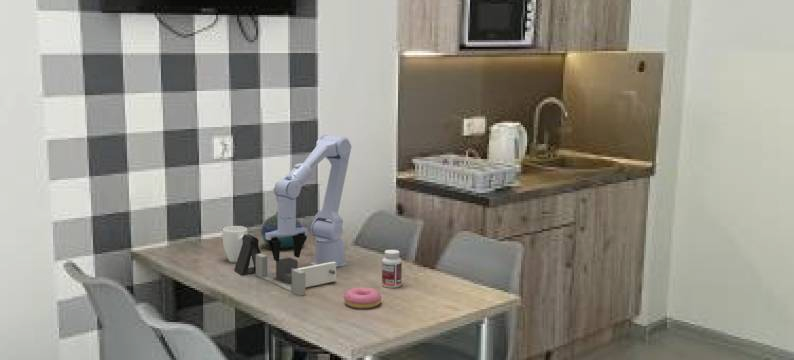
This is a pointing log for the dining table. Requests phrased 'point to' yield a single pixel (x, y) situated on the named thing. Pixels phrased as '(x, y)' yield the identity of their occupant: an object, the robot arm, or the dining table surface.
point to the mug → (233, 241)
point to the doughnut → (362, 297)
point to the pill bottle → (391, 269)
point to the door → (319, 273)
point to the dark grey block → (285, 268)
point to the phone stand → (247, 255)
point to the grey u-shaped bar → (296, 281)
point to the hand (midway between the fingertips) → (286, 258)
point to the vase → (272, 225)
